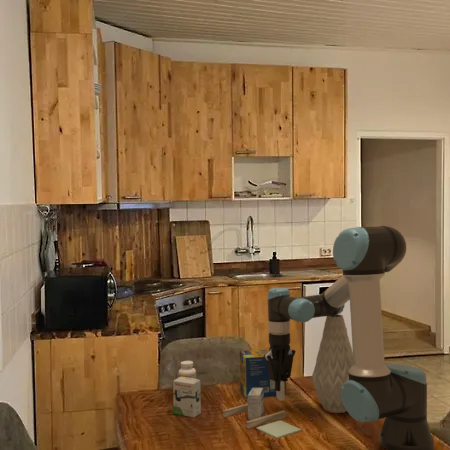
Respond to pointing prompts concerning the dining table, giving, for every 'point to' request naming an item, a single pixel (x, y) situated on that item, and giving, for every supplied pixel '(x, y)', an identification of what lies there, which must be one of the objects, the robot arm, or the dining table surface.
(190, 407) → the ink box
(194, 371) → the supplement bottle
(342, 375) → the vase
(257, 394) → the medicine box
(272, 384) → the protein box
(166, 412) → the dining table surface
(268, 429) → the sage mat
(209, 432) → the dining table surface
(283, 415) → the slot rack
